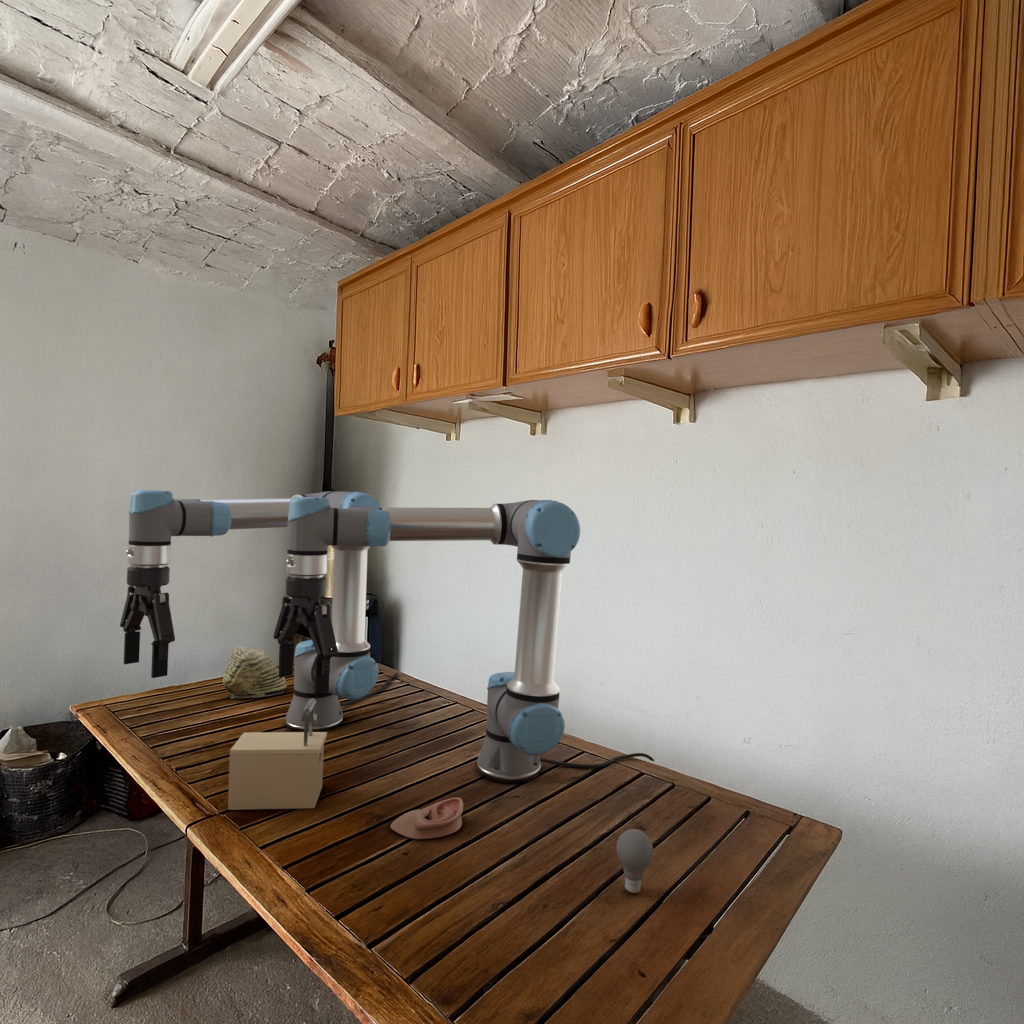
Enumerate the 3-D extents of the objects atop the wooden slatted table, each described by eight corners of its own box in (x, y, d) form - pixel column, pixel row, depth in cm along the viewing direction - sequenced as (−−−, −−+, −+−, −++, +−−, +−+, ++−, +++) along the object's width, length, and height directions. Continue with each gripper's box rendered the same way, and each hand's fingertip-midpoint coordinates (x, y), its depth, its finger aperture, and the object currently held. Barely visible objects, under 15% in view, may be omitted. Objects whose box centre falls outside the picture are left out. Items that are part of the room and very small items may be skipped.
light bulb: (610, 879, 108) (613, 822, 108) (644, 879, 109) (647, 822, 109) (619, 902, 102) (622, 840, 102) (655, 901, 103) (658, 840, 103)
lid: (326, 736, 138) (328, 696, 138) (319, 754, 129) (321, 710, 129) (243, 736, 136) (245, 696, 136) (229, 754, 126) (231, 710, 126)
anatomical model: (384, 813, 120) (406, 787, 131) (383, 834, 120) (405, 806, 131) (452, 824, 117) (468, 796, 128) (451, 845, 117) (467, 815, 128)
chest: (322, 787, 138) (324, 736, 138) (314, 808, 129) (316, 754, 129) (241, 788, 136) (243, 737, 136) (227, 810, 127) (229, 755, 126)
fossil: (218, 695, 195) (220, 647, 195) (278, 685, 208) (279, 640, 207) (228, 703, 189) (230, 653, 188) (289, 692, 201) (290, 645, 201)
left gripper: (104, 560, 134) (101, 660, 134) (155, 573, 118) (151, 686, 118) (143, 559, 139) (139, 655, 140) (196, 571, 124) (192, 678, 124)
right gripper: (258, 570, 129) (254, 673, 130) (323, 584, 112) (319, 703, 113) (292, 568, 135) (289, 667, 135) (359, 581, 118) (355, 695, 118)
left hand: (144, 669), depth 129 cm, fingers open, 13 cm apart
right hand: (302, 683), depth 124 cm, fingers open, 13 cm apart
